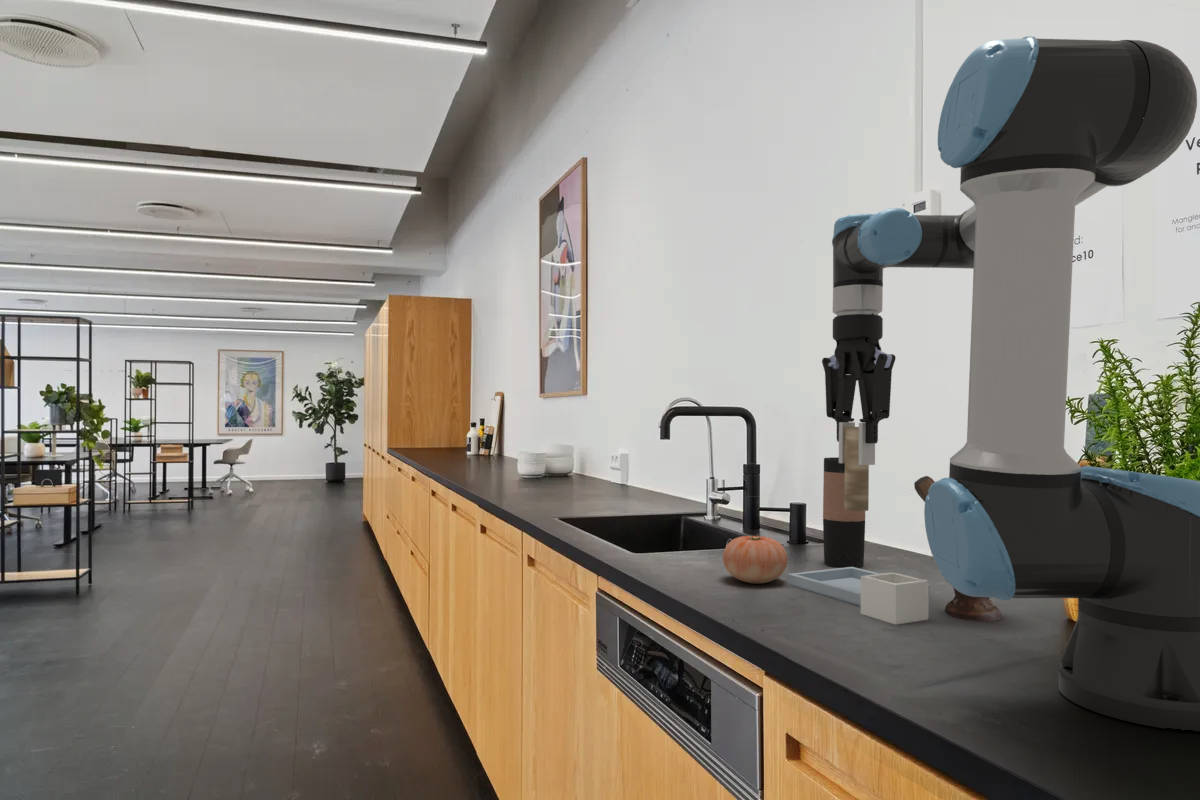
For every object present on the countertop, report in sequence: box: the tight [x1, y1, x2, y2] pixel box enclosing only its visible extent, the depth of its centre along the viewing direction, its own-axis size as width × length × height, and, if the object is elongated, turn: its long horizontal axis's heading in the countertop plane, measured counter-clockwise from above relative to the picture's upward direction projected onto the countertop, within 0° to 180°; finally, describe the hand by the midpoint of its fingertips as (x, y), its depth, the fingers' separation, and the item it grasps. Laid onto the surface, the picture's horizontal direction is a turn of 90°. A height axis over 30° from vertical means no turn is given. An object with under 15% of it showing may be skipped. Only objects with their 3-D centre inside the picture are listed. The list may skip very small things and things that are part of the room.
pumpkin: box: [722, 533, 789, 585], centre depth 135 cm, size 11×11×8 cm
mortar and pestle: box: [913, 475, 1003, 622], centre depth 111 cm, size 12×9×20 cm
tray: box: [786, 567, 881, 608], centre depth 125 cm, size 16×14×2 cm
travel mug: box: [822, 456, 866, 569], centre depth 151 cm, size 8×8×20 cm
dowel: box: [844, 426, 870, 512], centre depth 126 cm, size 4×4×13 cm
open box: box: [860, 571, 930, 626], centre depth 110 cm, size 6×6×6 cm
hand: (856, 463), depth 126 cm, fingers closed on dowel, 3 cm apart
